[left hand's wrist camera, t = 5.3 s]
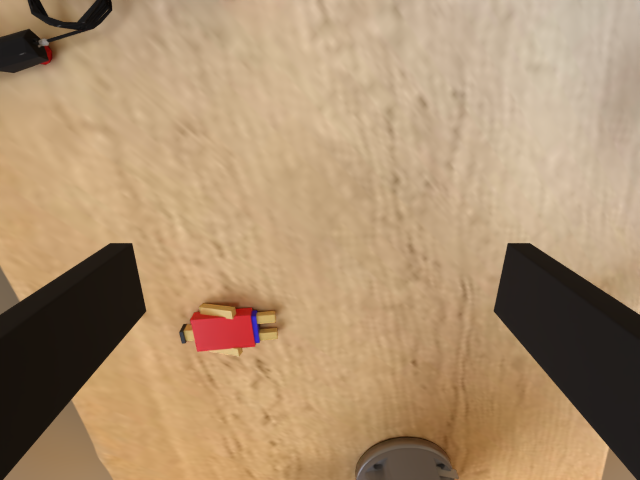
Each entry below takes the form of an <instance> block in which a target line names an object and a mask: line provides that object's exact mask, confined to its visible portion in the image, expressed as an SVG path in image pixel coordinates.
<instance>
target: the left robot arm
mask: <svg viewBox="0 0 640 480" xmlns="http://www.w3.org/2000/svg"><path fill="white" fill-rule="evenodd" d="M145 312H146V307H145V303H144V298H143V293H142V288H141V283H140V279H139V274H138V269H137V264H136V259H135V255H134V250H133V245H132V243H110V244H108V245H107V246H105V247H104V248H102V249H101V250H99V251H98V252H96V253H95V254H93V255H91V256H90V257H88V258H87V259H85V260H84V261H82V262H81V263H79V264H78V265H76V266H75V267H73V268H71V269H70V270H68V271H67V272H65V273H64V274H62V275H61V276H59V277H58V278H56V279H55V280H53V281H51V282H50V283H48V284H47V285H45V286H44V287H42V288H41V289H39V290H38V291H36V292H35V293H33V294H31V295H30V296H28V297H27V298H25V299H24V300H22V301H21V302H19V303H18V304H16V305H15V306H13V307H12V308H10V309H8V310H7V311H5V312H4V313H2V314H1V315H0V480H3V479H4V478H5V477H6V476H7V474H8V473H9V472H10V471H11V470H12V468H13V467H14V466H15V465H16V464H17V463H18V461H19V460H20V459H21V458H22V457H23V456H24V454H25V453H26V452H27V451H28V450H29V449H30V447H31V446H32V445H33V444H34V443H35V442H36V440H37V439H38V438H39V437H40V436H41V434H42V433H43V432H44V431H45V430H46V429H47V427H48V426H49V425H50V424H51V423H52V422H53V420H54V419H55V418H56V417H57V416H58V414H59V413H60V412H61V411H62V410H63V409H64V407H65V406H66V405H67V404H68V403H69V402H70V400H71V399H72V398H73V397H74V396H75V394H76V393H77V392H78V391H79V390H80V389H81V387H82V386H83V385H84V384H85V383H86V382H87V380H88V379H89V378H90V377H91V376H92V374H93V373H94V372H95V371H96V370H97V369H98V367H99V366H100V365H101V364H102V363H103V362H104V360H105V359H106V358H107V357H108V356H109V354H110V353H111V352H112V351H113V350H114V349H115V347H116V346H117V345H118V344H119V343H120V342H121V340H122V339H123V338H124V337H125V336H126V334H127V333H128V332H129V331H130V330H131V329H132V327H133V326H134V325H135V324H136V323H137V322H138V320H139V319H140V318H141V317H142V316H143V314H144V313H145ZM494 312H495V313H496V314H497V316H498V317H499V318H500V319H501V320H502V322H503V323H504V324H505V325H506V326H507V327H508V329H509V330H510V331H511V332H512V333H513V334H514V336H515V337H516V338H517V339H518V340H519V342H520V343H521V344H522V345H523V346H524V347H525V349H526V350H527V351H528V352H529V353H530V354H531V356H532V357H533V358H534V359H535V360H536V362H537V363H538V364H539V365H540V366H541V367H542V369H543V370H544V371H545V372H546V373H547V374H548V376H549V377H550V378H551V379H552V380H553V382H554V383H555V384H556V385H557V386H558V387H559V389H560V390H561V391H562V392H563V393H564V394H565V396H566V397H567V398H568V399H569V400H570V402H571V403H572V404H573V405H574V406H575V407H576V409H577V410H578V411H579V412H580V413H581V414H582V416H583V417H584V418H585V419H586V420H587V422H588V423H589V424H590V425H591V426H592V427H593V429H594V430H595V431H596V432H597V433H598V434H599V436H600V437H601V438H602V439H603V440H604V442H605V443H606V444H607V445H608V446H609V447H610V449H611V450H612V451H613V452H614V453H615V454H616V456H617V457H618V458H619V459H620V460H621V462H622V463H623V464H624V465H625V466H626V467H627V469H628V470H629V471H630V472H631V473H632V474H633V476H634V477H635V478H636V479H637V480H640V315H639V314H638V313H636V312H635V311H633V310H632V309H630V308H628V307H627V306H625V305H624V304H622V303H621V302H619V301H618V300H616V299H615V298H613V297H612V296H610V295H609V294H607V293H605V292H604V291H602V290H601V289H599V288H598V287H596V286H595V285H593V284H592V283H590V282H589V281H587V280H585V279H584V278H582V277H581V276H579V275H578V274H576V273H575V272H573V271H572V270H570V269H569V268H567V267H565V266H564V265H562V264H561V263H559V262H558V261H556V260H555V259H553V258H552V257H550V256H549V255H547V254H545V253H544V252H542V251H541V250H539V249H538V248H536V247H535V246H533V245H532V244H530V243H508V245H507V250H506V255H505V259H504V264H503V269H502V274H501V279H500V283H499V288H498V293H497V298H496V303H495V307H494ZM355 474H356V480H454V478H455V479H459V477H458V474H457V472H456V470H454V469H452V466H451V463H450V461H449V458H448V456H447V455H446V453H445V452H444V451H443V450H442V449H441V448H440V447H439V446H437V445H435V444H434V443H432V442H429V441H427V440H423V439H419V438H409V437H405V438H395V439H390V440H387V441H384V442H381V443H379V444H377V445H375V446H373V447H372V448H370V449H369V450H368V451H367V452H365V453H364V454H363V456H362V457H361V458H360V460H359V461H358V464H357V466H356V472H355Z"/></svg>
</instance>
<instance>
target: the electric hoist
mask: <svg viewBox="0 0 640 480" xmlns="http://www.w3.org/2000/svg"><path fill="white" fill-rule="evenodd" d="M28 3H29V7H30V10H31V13H32V14H33V15H34V16H36V17H37V18H39V19H40V20H42V21H44V22H45V23H47V24H49V25H52V26H54V27H61V28H67V29H74V30H77V31H73V32H70V33H67V34H64V35H60V36H57V37H54V38H50V39H44V38H43V39H40V38H39V37H38V36H37V35H36V34H34V33H33V32H32V31H31V30H30V29H27V30H24V31H20V32H17V33H13V34H10V35H7V36H3V37H0V71H3V72H11V73H15V72H18V71H21V70H24V69H26V68H29V67H32V66H35V65H38V64H44V65H46V64H48V63H50V61H51V60H52V51H51V49H50V48H49V46H48V45H49V42H52V41H55V40H59V39H62V38H65V37H68V36H72V35H75V34H78V33H81V32H85V31H88V30H91V29H94V28H95V27H97V26H98V25H99V24H101V23H102V21H103V20H104V19H105V18H106V17H107V16H108V15H109V14H110V12H111V11H112V2H111V0H96V2H95V3H94V4H93V5H92V6H91V7H90V8H89V9H88V11H87V12H86V13H85V14H84V15H83V16H82V17H81V19H80V20H79V21H78V22H62V21H59V20H56V19H53V18H50V17H48V15H47V13H46V11H45V9H44V8H43V6H42V4H41V2H40V0H28ZM107 10H108V11H107ZM106 11H107V12H106ZM105 12H106V13H105ZM104 13H105V14H104ZM103 14H104V15H103ZM102 15H103V16H102ZM101 16H102V17H101Z"/></svg>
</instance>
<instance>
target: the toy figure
mask: <svg viewBox="0 0 640 480" xmlns="http://www.w3.org/2000/svg"><path fill="white" fill-rule="evenodd" d="M199 310H200V312H194V314H193V316H192V318H191V320H190V321H191V324H188V325H187V324H183V326H182V328H181V330H180V332H179V333H180V337H181V342H182V343H186V341H195V343H196V348H197V352H199V351H208V352H214V353H220V354H227V355H233V356H240V355H241V353H242V352H243V351H242V348H244V347H255V345H256V343H260V341H261V340H272V339H278V332H277V328H270V329H260V328H259V324H263V323H275V322H276V315H275V311H269V312H257V310H253V311H252V308H242V309H235V307H230V306H222V305H213V304H205V303H203V304H202V305H201V306H200V307H199Z"/></svg>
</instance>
